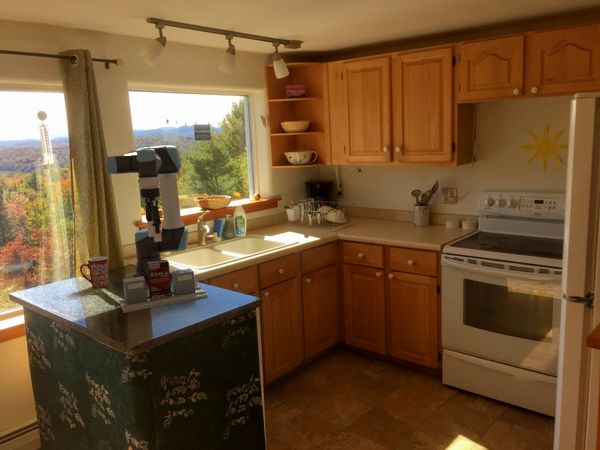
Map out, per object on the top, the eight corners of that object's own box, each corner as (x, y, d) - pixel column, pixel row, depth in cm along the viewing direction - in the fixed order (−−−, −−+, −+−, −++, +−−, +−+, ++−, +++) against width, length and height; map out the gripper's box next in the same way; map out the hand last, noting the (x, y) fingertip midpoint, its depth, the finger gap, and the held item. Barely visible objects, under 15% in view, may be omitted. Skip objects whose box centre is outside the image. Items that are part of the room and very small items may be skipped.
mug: (109, 282, 248) (105, 255, 246) (112, 286, 240) (108, 258, 238) (81, 286, 242) (77, 259, 240) (83, 291, 234) (79, 263, 232)
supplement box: (151, 301, 208) (147, 264, 205) (149, 298, 212) (145, 262, 209) (172, 297, 211) (169, 261, 209) (170, 295, 216) (166, 259, 213)
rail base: (119, 304, 211) (116, 278, 209) (199, 289, 225) (196, 265, 224) (123, 312, 199) (120, 285, 197) (207, 297, 214) (205, 271, 212)
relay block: (182, 288, 229) (181, 276, 228) (192, 286, 232) (191, 273, 231) (187, 291, 225) (185, 278, 224) (197, 288, 228) (196, 275, 227)
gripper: (135, 186, 214) (140, 235, 217) (145, 190, 192) (151, 244, 195) (153, 185, 217) (158, 233, 220) (165, 188, 195) (170, 242, 198)
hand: (155, 239), depth 208 cm, fingers open, 13 cm apart
